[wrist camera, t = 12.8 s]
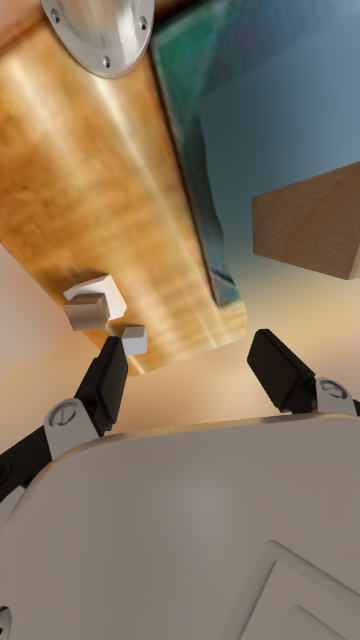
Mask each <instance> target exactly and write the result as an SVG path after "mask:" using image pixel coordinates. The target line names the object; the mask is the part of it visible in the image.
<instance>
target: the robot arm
mask: <svg viewBox="0 0 360 640" xmlns="http://www.w3.org/2000/svg"><path fill="white" fill-rule="evenodd" d="M40 1H41V4H42V6H43V9H44V11H45V13H46V15H47V17H48V18H49V20H50V22H51V24H52V26H53V28H54V30H55V31H56V33H57V35H58V36H59V38H60V40H61V41H62V43H63V44H64V46H65V47H66V48H67V50H68V51H69V52H70V54H71V55H72V56H73V57H74V58H75V59H76V60H77V61H78V62H79V63H80V64H81V65H82V66H83V67H84V68H86V69H87V70H89V71H90V72H92V73H93V74H95V75H98V76H100V77H103V78H109V79H115V78H120V77H123V76H125V75H127V74H129V73H130V72H131V71H132V70H133V69H134V68H135V67H136V66H137V65H138V64H139V62H140V61H141V59H142V57H143V56H144V54H145V51H146V49H147V46H148V44H149V40H150V36H151V32H152V27H153V19H154V10H155V0H40ZM58 22H59V23H58ZM142 29H145V30H142ZM108 65H109V66H110V67H109V68H107V66H108ZM247 362H248V364H249V366H250V367H251V369H252V371H253V372H254V374H255V375H256V377H257V379H258V380H259V382H260V383H261V385H262V387H263V388H264V390H265V391H266V393H267V395H268V396H269V398H270V399H271V401H272V403H273V404H274V405H275V407H277V408H278V409H279V411H280V412H281V413H286V412H290V411H291V412H292V415H281V416H271V417H260V418H251V419H241V420H231V421H222V422H213V423H203V424H193V425H184V426H176V427H167V428H157V429H149V430H141V431H134V432H126V433H119V434H114V435H108V436H104V433H105V431H111V428H112V425H113V424H115V423H116V421H117V416H118V412H119V408H120V403H121V399H122V395H123V391H124V386H125V382H126V378H127V374H128V364H127V360H126V356H125V351H124V347H123V343H122V339H121V338H119V337H118V336H110V337H108V338H107V340H106V342H105V344H104V346H103V348H102V350H101V352H100V354H99V356H98V357H97V358H94V359H93V361H92V363H91V365H90V367H89V369H88V371H87V373H86V375H85V376H84V378H83V381H82V382H81V384H80V386H79V388H78V390H77V392H76V394H75V396H74V398H70V399H66V400H64V401H62V402H60V403H58V404H57V405H55V406H54V407H53V408H52V409H51V410H50V411H49V412H48V414H47V415H46V417H45V420H44V425H43V426H41V427H40V428H38V429H37V430H36V431H34V432H33V433H31V434H30V435H28V436H27V437H25V438H24V439H22V440H21V441H20V442H18V443H17V444H15V445H14V446H12V447H11V448H10V449H8V450H7V451H5V452H4V453H2V454H1V455H0V530H1V531H0V640H360V402H358V401H356V400H354V399H352V396H351V394H350V392H349V391H348V390H347V389H346V388H345V387H344V386H342V385H341V384H339V383H338V382H336V381H334V380H331V379H328V378H322V377H321V378H318V379H317V380H316V379H315V378H314V376H315V373H314V372H313V371H312V370H311V369H309V368H308V367H307V366H306V365H305V364H304V363H303V362H302V361H301V360H300V359H299V358H298V357H297V356H296V355H295V354H294V353H293V352H292V351H291V350H290V349H288V347H287V346H286V345H285V344H284V343H282V341H280V340H279V339H278V338H277V337H276V336H275V335H274V334H273V333H272V332H271V331H270V330H269V329H259V330H258V331H257V332H256V333H255V336H254V339H253V342H252V345H251V348H250V351H249V354H248V357H247ZM103 436H104V437H103Z"/></svg>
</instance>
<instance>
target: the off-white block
mask: <svg viewBox="0 0 360 640" xmlns="http://www.w3.org/2000/svg"><path fill="white" fill-rule="evenodd" d="M93 293H105V296H106V300H107V304H108V308H109V311H110V315H111V316H110V318H109V320H112V319H116V318H119V317H122V316H123V314H124V312H125V310H126V308H127V306H126V304H125V302H124V300H123V298H122V296H121V294H120V292H119V290H118V288H117V286H116V284H115V283H114V281H113V279H112V277H111V275H110V274H108V275H105V276H102V277H99V278H96V279H93V280H89V281H86V282H83V283H80V284H77V285H74V286H73V287H71V288H70V289H68V290H67V291H65V292H64V293H63V294H64V296H65V297H66V298H67V300H68V301H69V300H70V299H72V298H73V297H74V296H75V295H77V294H93ZM109 320H108V321H109Z"/></svg>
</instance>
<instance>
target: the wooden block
mask: <svg viewBox="0 0 360 640" xmlns="http://www.w3.org/2000/svg"><path fill="white" fill-rule="evenodd" d="M252 214H253V215H252V216H253V217H252V218H253V252H254V254H256V255H259V256H263V257H267V258H270V259H274V260H277V261H281V262H284V263H288V264H291V265H295V266H298V267H302V268H305V269H309V270H312V271H316V272H319V273H324V274H327V275H330V276H334V277H337V278H341V279H344V280H352V279H355V278H359V277H360V161H359V162H356V163H353V164H350V165H347V166H344V167H342V168H338V169H335V170H333V171H330V172H327V173H324V174H321V175H318V176H315V177H312V178H309V179H306V180H303V181H300V182H297V183H294V184H291V185H288V186H285V187H283V188H280V189H277V190H274V191H271V192H268V193H265V194H262V195H259V196H256V197H254V198H253V199H252Z"/></svg>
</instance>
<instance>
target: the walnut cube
mask: <svg viewBox="0 0 360 640" xmlns="http://www.w3.org/2000/svg"><path fill="white" fill-rule="evenodd" d="M63 307H64V309H65V312H66V314H67V316H68V319H69V321H70V323H71V326H72V328H73V331H79V330H98V329H103V328H104V326H105V325H106V323H107V321H108V320H109V318H110V316H111V315H110V311H109V308H108V304H107V300H106V296H105V293H93V294H77V295H75V296H74V297H73V298H72V299H70V300H69V301H68V302H66V303H65V304H64V305H63Z"/></svg>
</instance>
